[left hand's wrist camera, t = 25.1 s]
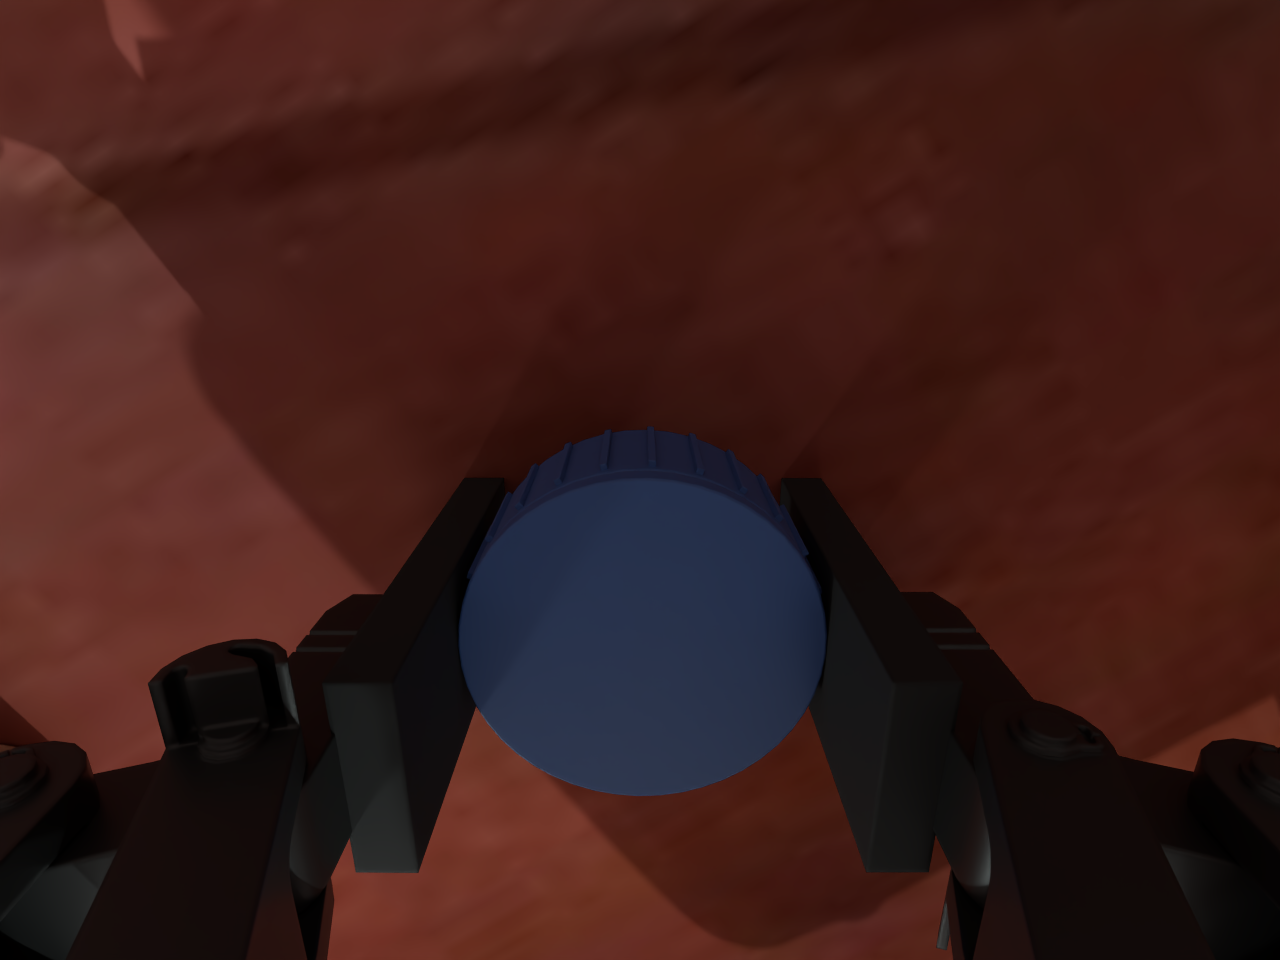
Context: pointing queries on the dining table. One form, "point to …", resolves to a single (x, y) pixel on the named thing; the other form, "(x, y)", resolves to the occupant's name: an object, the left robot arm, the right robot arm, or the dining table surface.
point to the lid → (642, 616)
